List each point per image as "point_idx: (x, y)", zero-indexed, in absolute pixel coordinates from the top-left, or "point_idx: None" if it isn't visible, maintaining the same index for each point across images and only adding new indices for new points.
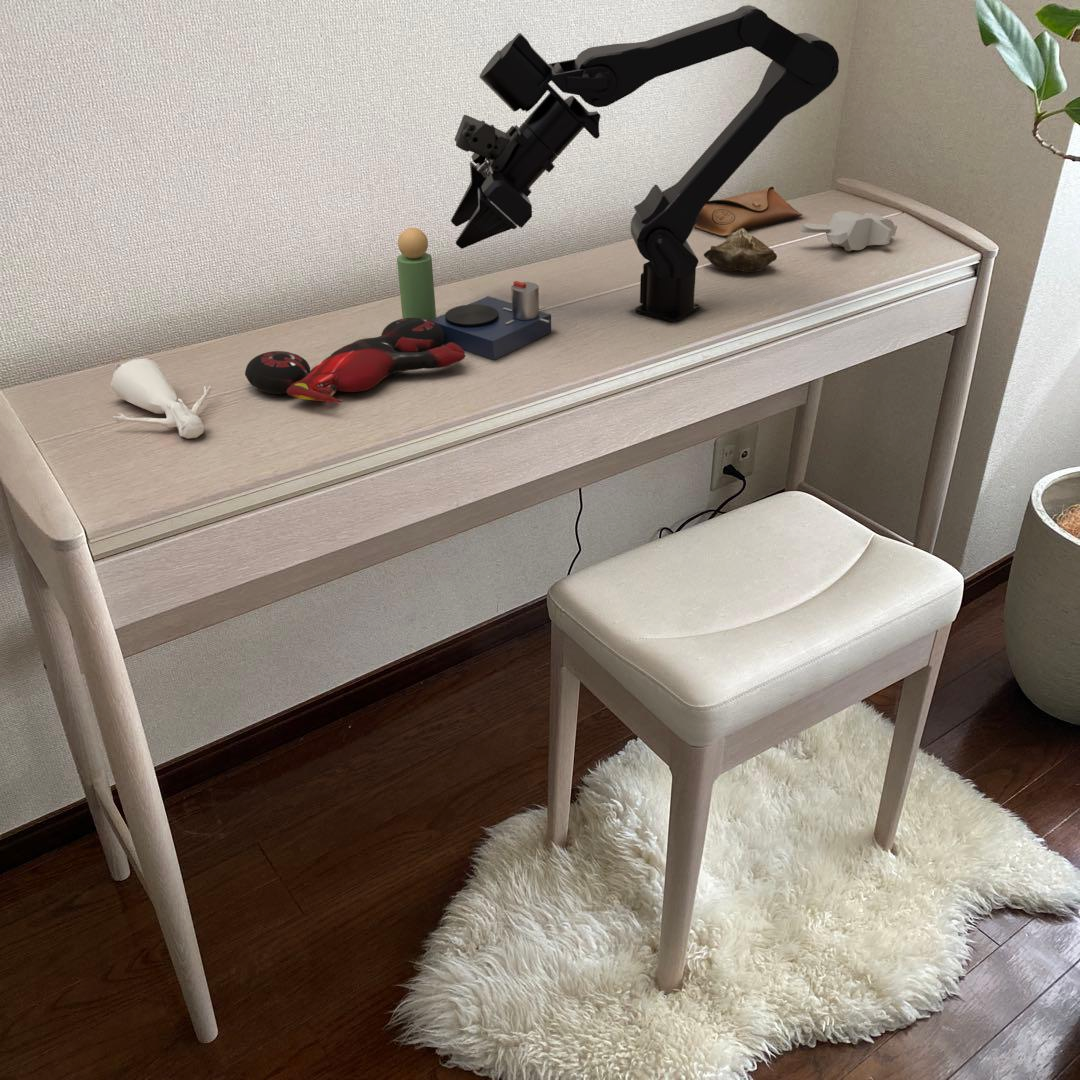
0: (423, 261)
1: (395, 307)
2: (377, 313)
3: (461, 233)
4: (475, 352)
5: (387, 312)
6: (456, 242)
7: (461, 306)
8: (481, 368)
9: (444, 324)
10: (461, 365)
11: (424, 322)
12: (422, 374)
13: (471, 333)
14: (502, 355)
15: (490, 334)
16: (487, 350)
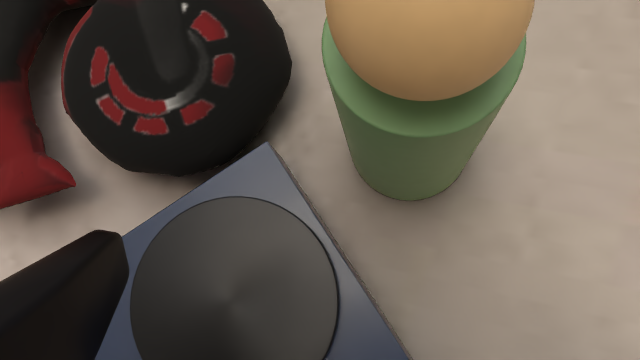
0: (329, 77)
1: (625, 86)
2: (579, 18)
3: (45, 273)
4: None
5: (579, 52)
6: (92, 233)
7: (326, 281)
8: (4, 262)
9: (209, 186)
10: (49, 209)
11: (144, 96)
12: (36, 89)
13: None
14: None
15: None
16: None
